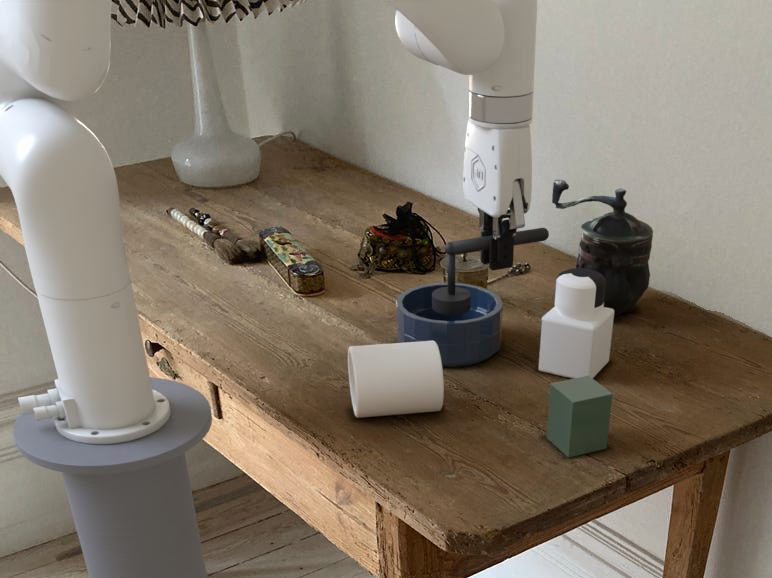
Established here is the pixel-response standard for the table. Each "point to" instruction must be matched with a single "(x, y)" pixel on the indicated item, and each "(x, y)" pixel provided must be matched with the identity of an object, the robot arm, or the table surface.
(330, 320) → the table surface
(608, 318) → the medicine bottle
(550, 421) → the green rectangular block
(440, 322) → the bowl
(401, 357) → the mug
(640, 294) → the coffee grinder
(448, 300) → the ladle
